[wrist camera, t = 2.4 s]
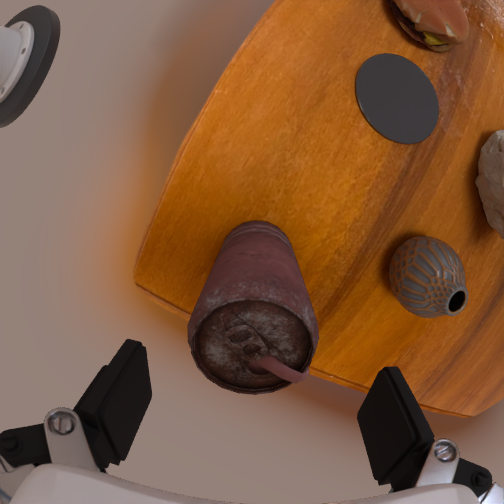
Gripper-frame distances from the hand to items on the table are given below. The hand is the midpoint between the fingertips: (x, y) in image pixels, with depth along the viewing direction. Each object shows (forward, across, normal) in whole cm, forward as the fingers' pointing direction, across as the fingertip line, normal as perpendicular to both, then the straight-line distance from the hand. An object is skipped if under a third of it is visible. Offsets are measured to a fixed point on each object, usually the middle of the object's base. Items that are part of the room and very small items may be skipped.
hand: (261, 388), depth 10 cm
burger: (+16, -14, -28) cm, 35 cm away
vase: (+16, -14, -1) cm, 22 cm away
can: (+16, 0, 0) cm, 16 cm away
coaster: (+16, -10, -17) cm, 25 cm away
